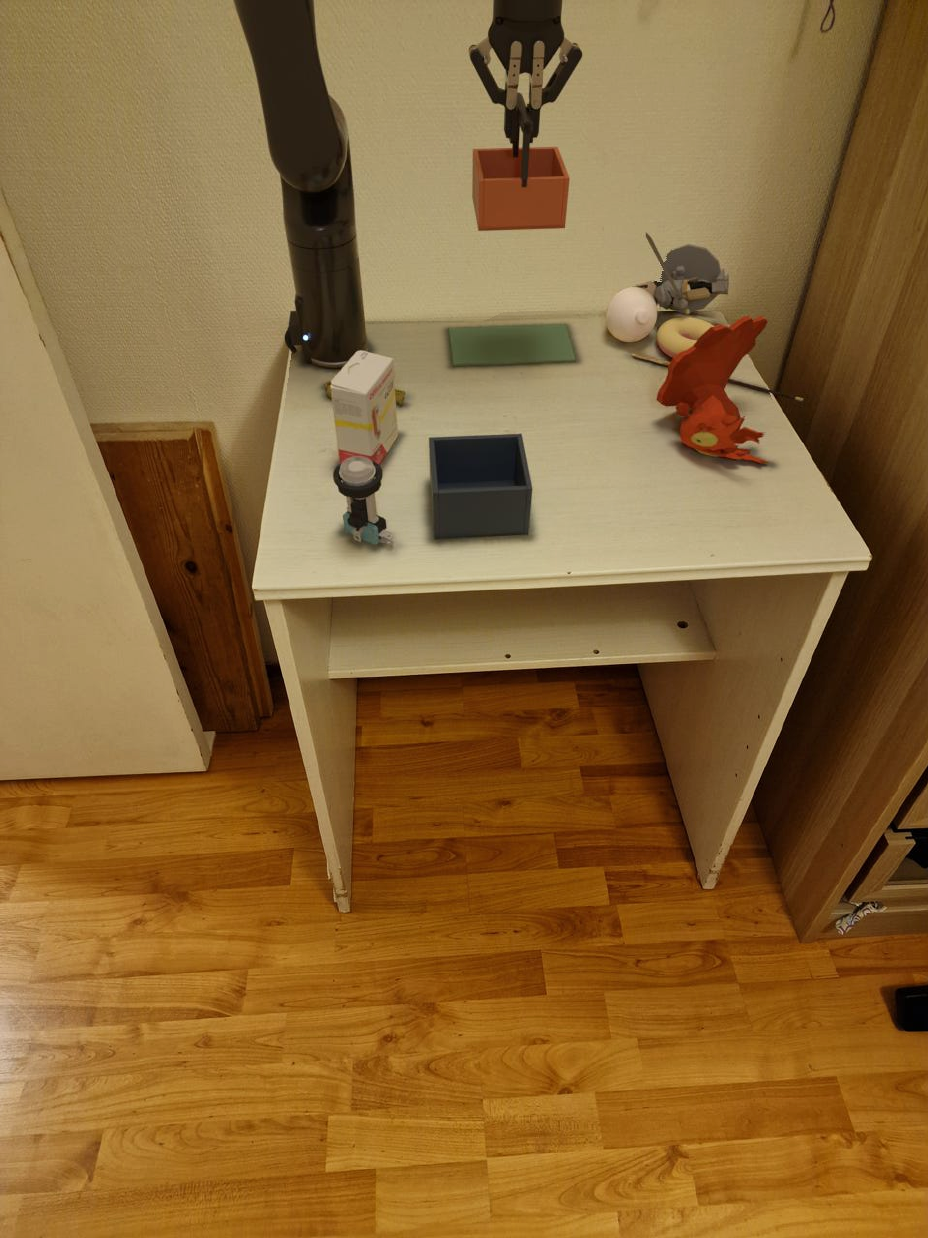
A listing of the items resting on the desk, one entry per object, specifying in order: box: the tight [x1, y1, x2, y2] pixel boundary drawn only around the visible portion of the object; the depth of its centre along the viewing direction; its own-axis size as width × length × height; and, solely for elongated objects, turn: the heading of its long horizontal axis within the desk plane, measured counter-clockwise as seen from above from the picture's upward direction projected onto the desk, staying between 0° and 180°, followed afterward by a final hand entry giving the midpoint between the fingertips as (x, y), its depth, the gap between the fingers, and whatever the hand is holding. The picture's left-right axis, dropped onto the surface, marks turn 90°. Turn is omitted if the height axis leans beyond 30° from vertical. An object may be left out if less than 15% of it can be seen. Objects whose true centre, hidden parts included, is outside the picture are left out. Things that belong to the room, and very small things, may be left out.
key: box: [324, 380, 406, 406], centre depth 111 cm, size 12×1×5 cm
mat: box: [448, 323, 577, 367], centre depth 120 cm, size 18×10×1 cm, turn 94°
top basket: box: [471, 91, 570, 232], centre depth 100 cm, size 11×10×12 cm
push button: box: [332, 456, 395, 546], centre depth 89 cm, size 7×5×10 cm
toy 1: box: [628, 232, 730, 315], centre depth 119 cm, size 20×11×15 cm
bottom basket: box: [428, 433, 533, 540], centre depth 94 cm, size 11×10×7 cm
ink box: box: [330, 350, 399, 466], centre depth 99 cm, size 9×5×12 cm, turn 160°
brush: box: [631, 353, 804, 403], centre depth 115 cm, size 1×1×25 cm
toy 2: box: [655, 315, 771, 465], centre depth 101 cm, size 13×18×15 cm
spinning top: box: [605, 286, 658, 343], centre depth 120 cm, size 8×8×12 cm
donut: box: [656, 316, 715, 359], centre depth 118 cm, size 10×5×9 cm
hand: (520, 140), depth 98 cm, fingers closed on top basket, 1 cm apart
